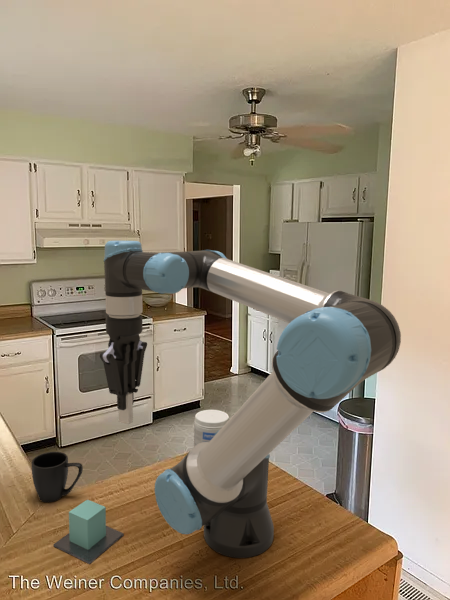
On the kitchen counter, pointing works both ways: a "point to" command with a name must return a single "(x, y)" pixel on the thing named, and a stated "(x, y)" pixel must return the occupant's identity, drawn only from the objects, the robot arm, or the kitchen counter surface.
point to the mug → (52, 475)
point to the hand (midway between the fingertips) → (125, 421)
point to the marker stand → (95, 550)
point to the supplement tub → (208, 424)
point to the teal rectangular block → (87, 524)
